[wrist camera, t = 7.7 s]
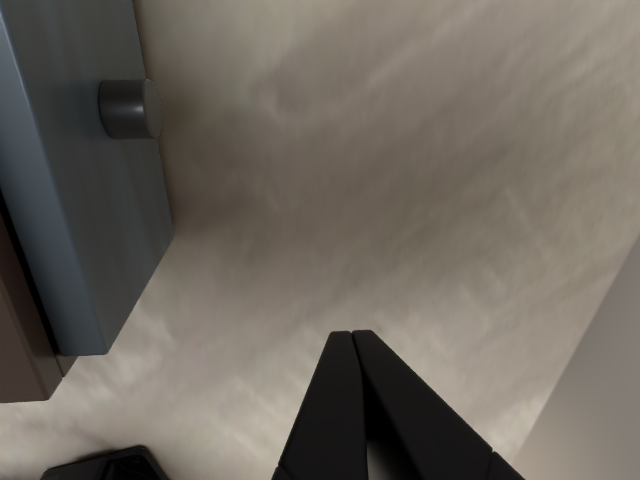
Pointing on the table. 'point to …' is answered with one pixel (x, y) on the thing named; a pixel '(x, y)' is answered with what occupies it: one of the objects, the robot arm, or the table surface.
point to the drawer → (80, 164)
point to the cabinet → (25, 336)
